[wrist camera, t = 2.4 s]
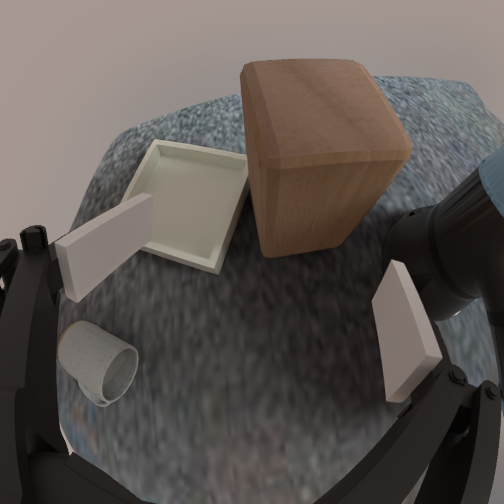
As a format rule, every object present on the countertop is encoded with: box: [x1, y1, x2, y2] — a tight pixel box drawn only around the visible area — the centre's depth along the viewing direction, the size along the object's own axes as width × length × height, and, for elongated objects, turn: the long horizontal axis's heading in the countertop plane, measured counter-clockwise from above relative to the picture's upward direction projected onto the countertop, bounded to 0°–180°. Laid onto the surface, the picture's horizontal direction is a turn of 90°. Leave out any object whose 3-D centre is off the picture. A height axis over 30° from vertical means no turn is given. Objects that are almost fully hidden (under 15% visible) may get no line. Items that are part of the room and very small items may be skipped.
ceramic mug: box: [57, 320, 139, 407], centre depth 26 cm, size 11×8×8 cm
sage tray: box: [120, 139, 250, 275], centre depth 33 cm, size 15×15×4 cm
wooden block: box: [240, 59, 412, 258], centre depth 24 cm, size 10×10×20 cm
